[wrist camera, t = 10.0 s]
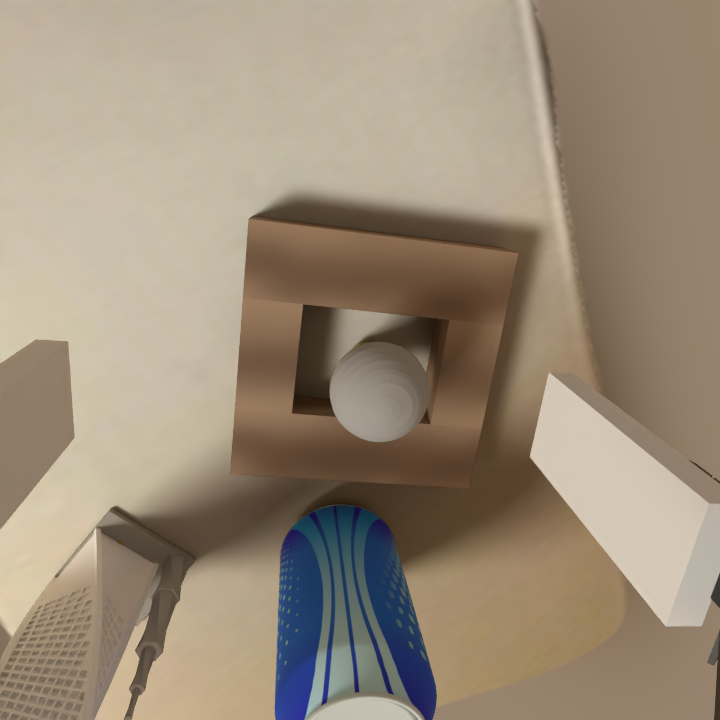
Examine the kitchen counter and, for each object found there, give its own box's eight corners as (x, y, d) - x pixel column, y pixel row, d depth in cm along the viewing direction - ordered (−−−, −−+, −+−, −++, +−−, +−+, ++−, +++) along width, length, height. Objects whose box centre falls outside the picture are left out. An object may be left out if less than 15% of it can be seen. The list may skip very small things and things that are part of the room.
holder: (252, 216, 34) (248, 218, 31) (501, 247, 36) (518, 253, 33) (234, 452, 38) (230, 474, 36) (456, 467, 41) (469, 488, 38)
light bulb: (385, 300, 36) (417, 341, 27) (415, 371, 38) (455, 433, 29) (309, 335, 37) (315, 387, 27) (343, 404, 38) (359, 476, 29)
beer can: (275, 501, 40) (264, 694, 25) (391, 489, 41) (448, 669, 26) (286, 596, 42) (281, 825, 27) (394, 583, 43) (448, 799, 28)
